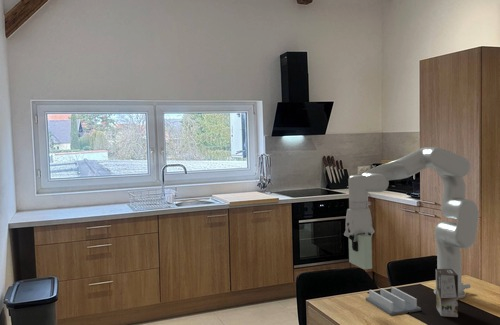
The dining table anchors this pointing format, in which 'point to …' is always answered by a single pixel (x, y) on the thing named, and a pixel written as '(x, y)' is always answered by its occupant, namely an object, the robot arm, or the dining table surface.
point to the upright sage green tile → (361, 252)
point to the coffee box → (447, 292)
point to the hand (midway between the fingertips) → (359, 249)
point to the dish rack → (393, 301)
